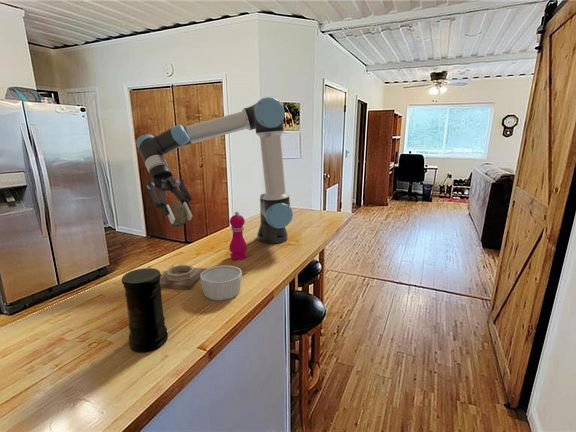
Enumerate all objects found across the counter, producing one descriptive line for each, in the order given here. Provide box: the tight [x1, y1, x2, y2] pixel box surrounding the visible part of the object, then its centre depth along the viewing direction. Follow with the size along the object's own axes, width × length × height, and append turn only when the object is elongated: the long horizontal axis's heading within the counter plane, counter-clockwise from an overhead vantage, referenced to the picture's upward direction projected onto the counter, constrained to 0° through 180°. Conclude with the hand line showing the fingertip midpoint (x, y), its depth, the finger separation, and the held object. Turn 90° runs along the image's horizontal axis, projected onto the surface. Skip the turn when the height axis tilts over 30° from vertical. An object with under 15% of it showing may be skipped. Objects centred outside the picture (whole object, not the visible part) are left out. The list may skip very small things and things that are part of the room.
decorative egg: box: [168, 200, 187, 229], centre depth 115 cm, size 6×6×10 cm
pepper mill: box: [229, 211, 248, 261], centre depth 130 cm, size 7×7×20 cm
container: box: [121, 267, 169, 353], centre depth 76 cm, size 9×9×18 cm
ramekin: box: [199, 265, 243, 301], centre depth 102 cm, size 13×13×7 cm
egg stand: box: [160, 264, 207, 291], centre depth 112 cm, size 14×14×4 cm
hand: (182, 219), depth 112 cm, fingers closed on decorative egg, 6 cm apart
